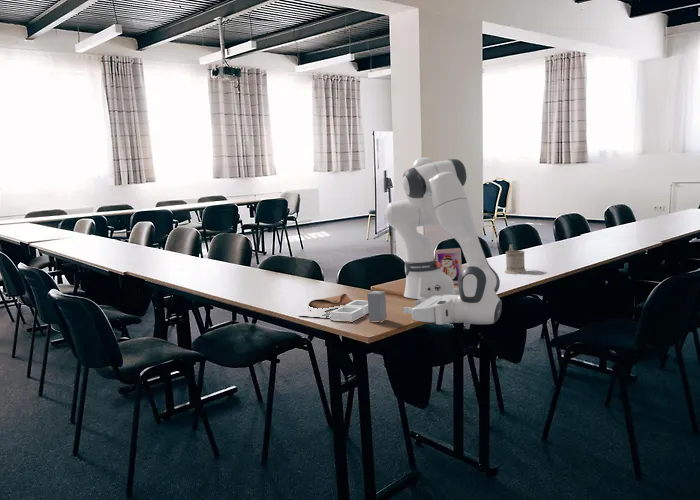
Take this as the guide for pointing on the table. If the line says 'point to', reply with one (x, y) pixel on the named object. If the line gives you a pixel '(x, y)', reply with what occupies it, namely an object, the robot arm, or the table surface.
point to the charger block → (377, 306)
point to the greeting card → (450, 262)
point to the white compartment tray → (351, 311)
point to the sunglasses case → (330, 301)
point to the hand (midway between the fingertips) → (409, 306)
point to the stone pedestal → (515, 261)
